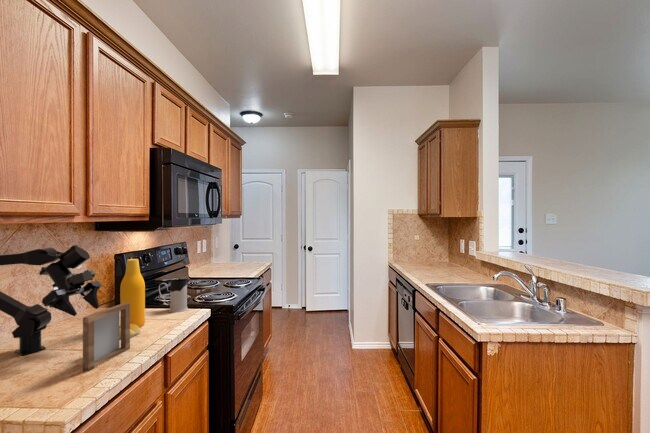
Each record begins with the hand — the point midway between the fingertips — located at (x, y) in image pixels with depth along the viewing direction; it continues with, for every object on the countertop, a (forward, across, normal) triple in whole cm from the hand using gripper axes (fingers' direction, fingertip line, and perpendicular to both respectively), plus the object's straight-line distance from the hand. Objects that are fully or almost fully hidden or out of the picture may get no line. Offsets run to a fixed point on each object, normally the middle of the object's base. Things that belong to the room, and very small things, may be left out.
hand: (87, 311), depth 112 cm
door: (+16, -5, +2) cm, 17 cm away
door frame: (+19, -5, -1) cm, 19 cm away
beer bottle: (+9, +25, +10) cm, 29 cm away
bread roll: (+13, +16, +6) cm, 21 cm away
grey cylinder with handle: (+11, +50, +7) cm, 51 cm away
